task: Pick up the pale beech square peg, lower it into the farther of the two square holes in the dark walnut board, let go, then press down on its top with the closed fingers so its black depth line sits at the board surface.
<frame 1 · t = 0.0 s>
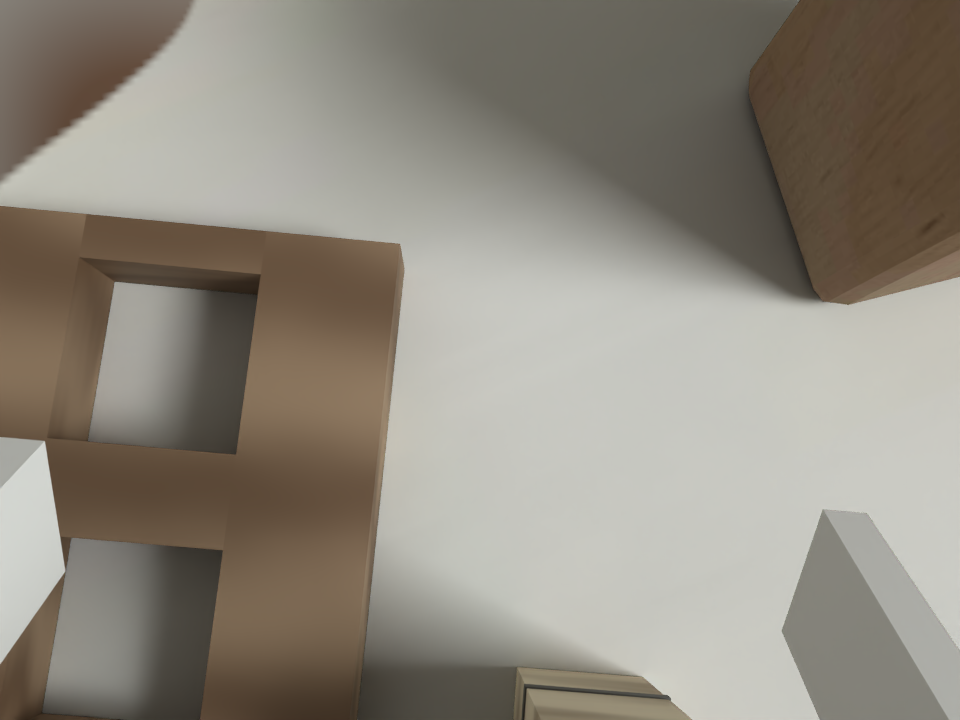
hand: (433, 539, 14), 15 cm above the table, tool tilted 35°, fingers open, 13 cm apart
wooden block: (887, 168, 33), on the table
walnut board: (165, 494, 29), on the table
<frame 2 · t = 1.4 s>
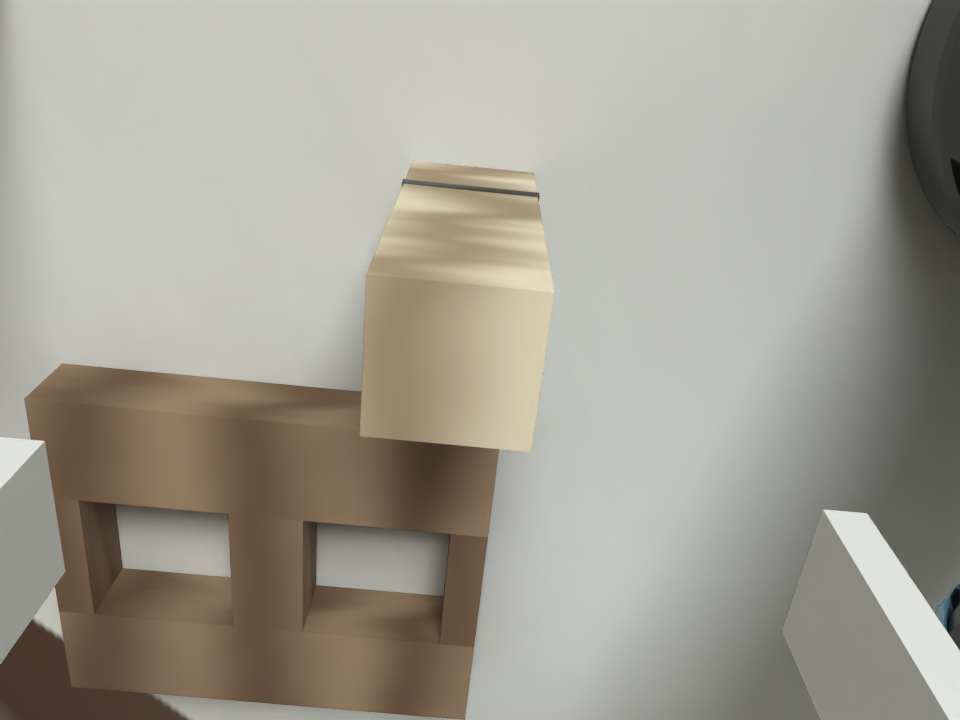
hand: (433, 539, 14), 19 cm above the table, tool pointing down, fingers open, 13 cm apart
beech peg: (467, 225, 31), on the table
walnut board: (283, 530, 37), on the table
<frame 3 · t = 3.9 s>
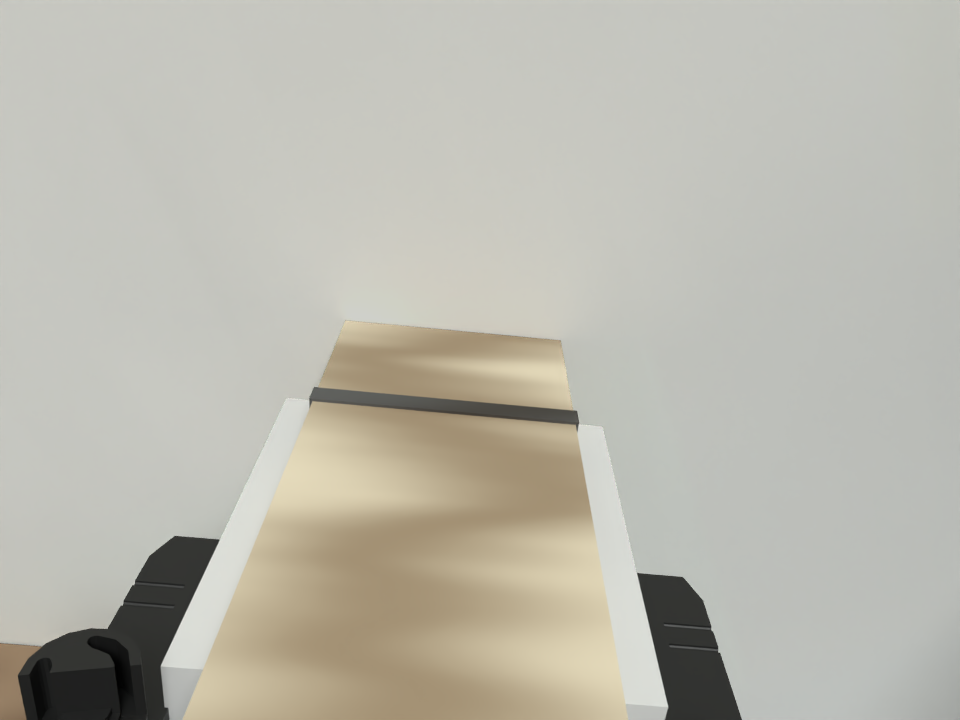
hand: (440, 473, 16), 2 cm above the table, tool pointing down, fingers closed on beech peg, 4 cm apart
beech peg: (445, 423, 18), on the table, touching gripper
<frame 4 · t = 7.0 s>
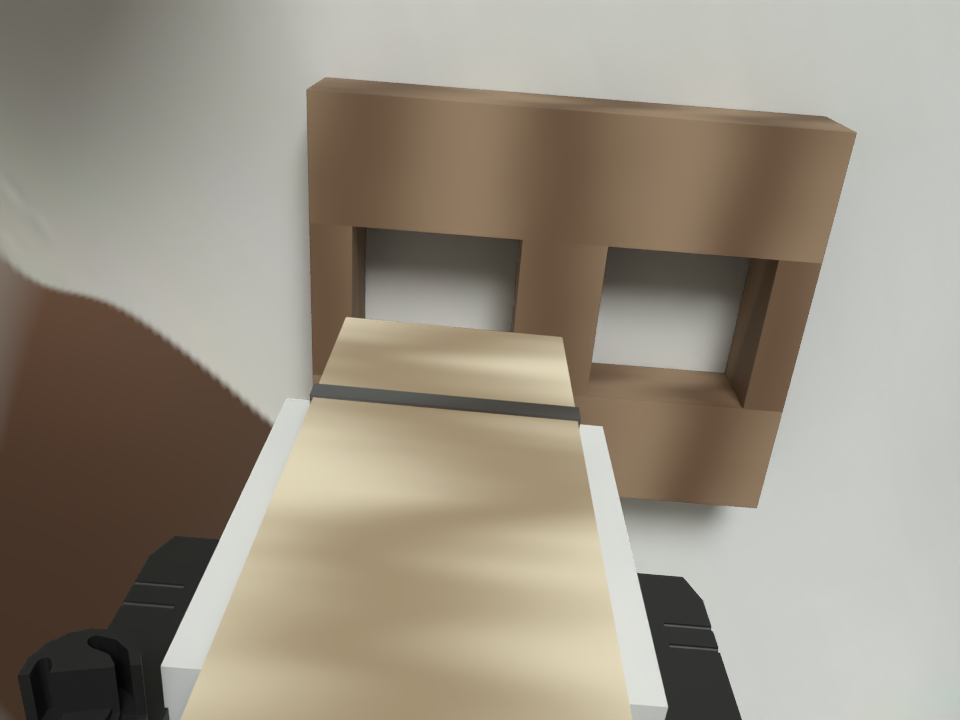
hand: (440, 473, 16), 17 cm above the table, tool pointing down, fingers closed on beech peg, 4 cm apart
beech peg: (446, 420, 18), point 16 cm above the table, touching gripper
walnut board: (552, 291, 33), on the table
when the fingers open (4 cm above the table, at t = 10.3 s): beech peg drops 2 cm, resting in walnut board.
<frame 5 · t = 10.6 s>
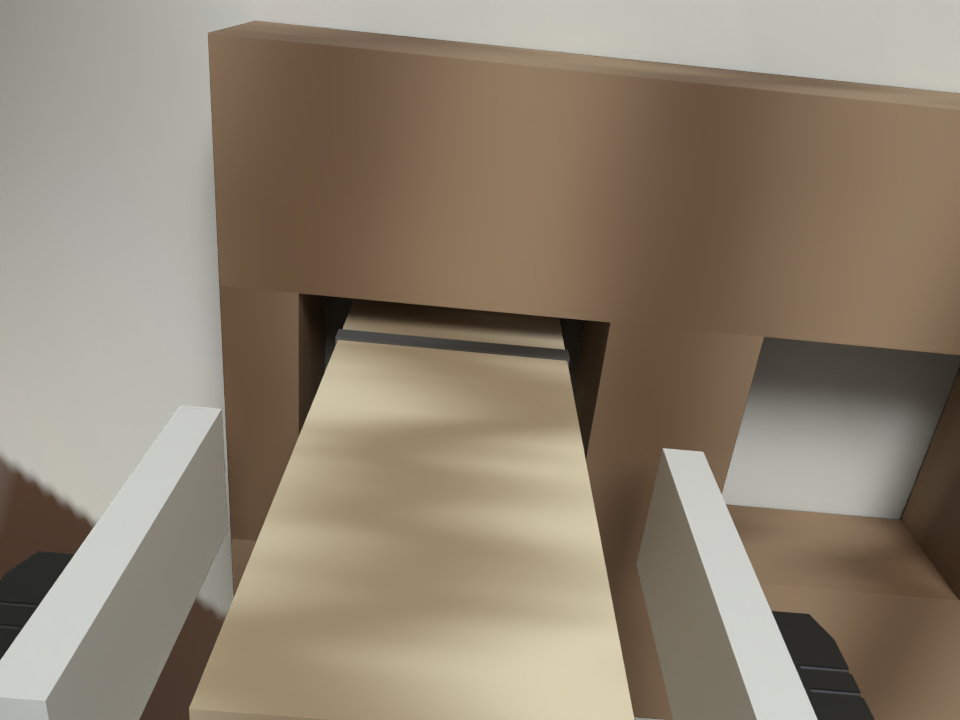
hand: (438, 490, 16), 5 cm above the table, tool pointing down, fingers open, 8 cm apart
beech peg: (451, 372, 20), resting in walnut board
walnut board: (635, 392, 20), on the table
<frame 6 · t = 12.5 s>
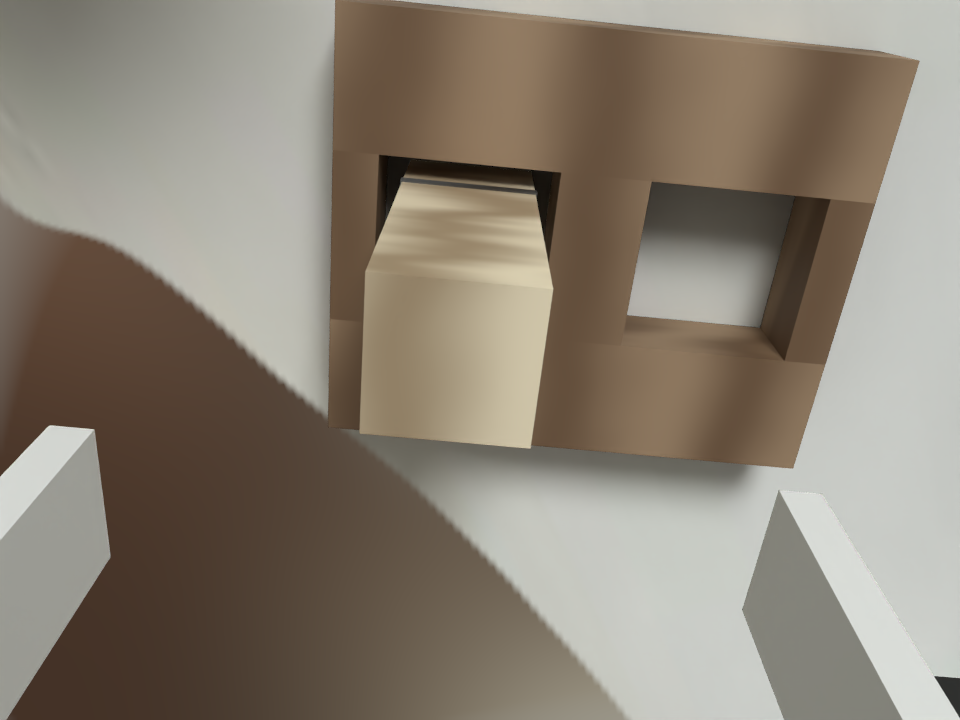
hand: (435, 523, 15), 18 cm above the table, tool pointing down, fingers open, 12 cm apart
beech peg: (465, 223, 31), resting in walnut board
walnut board: (583, 237, 31), on the table
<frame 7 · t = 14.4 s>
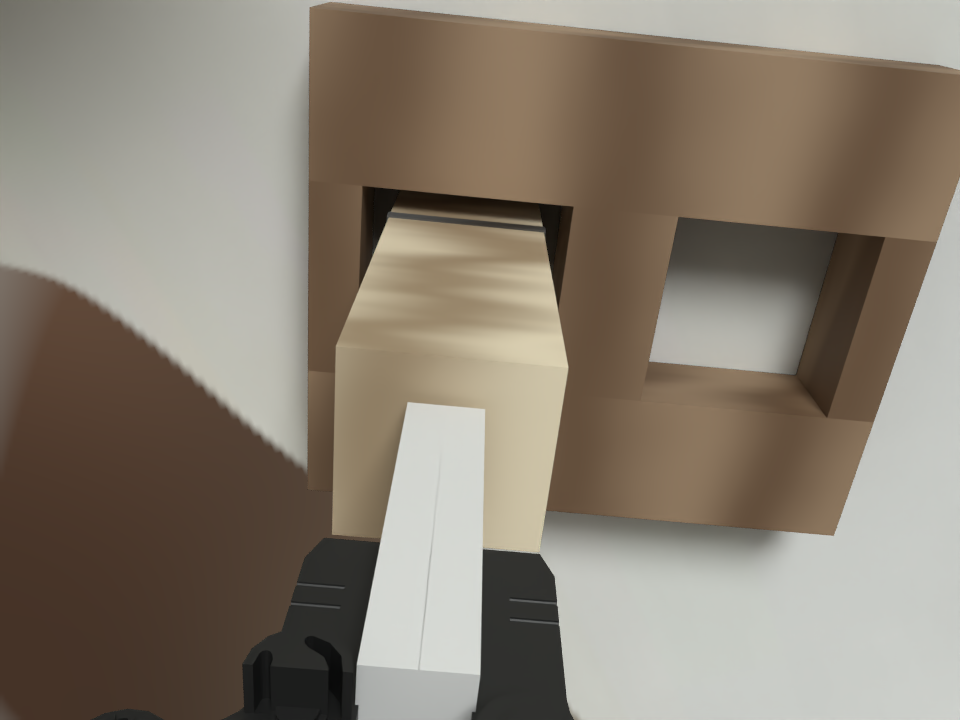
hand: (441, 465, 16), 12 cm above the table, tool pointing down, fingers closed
beech peg: (463, 259, 27), resting in walnut board, touching gripper
walnut board: (597, 274, 27), on the table
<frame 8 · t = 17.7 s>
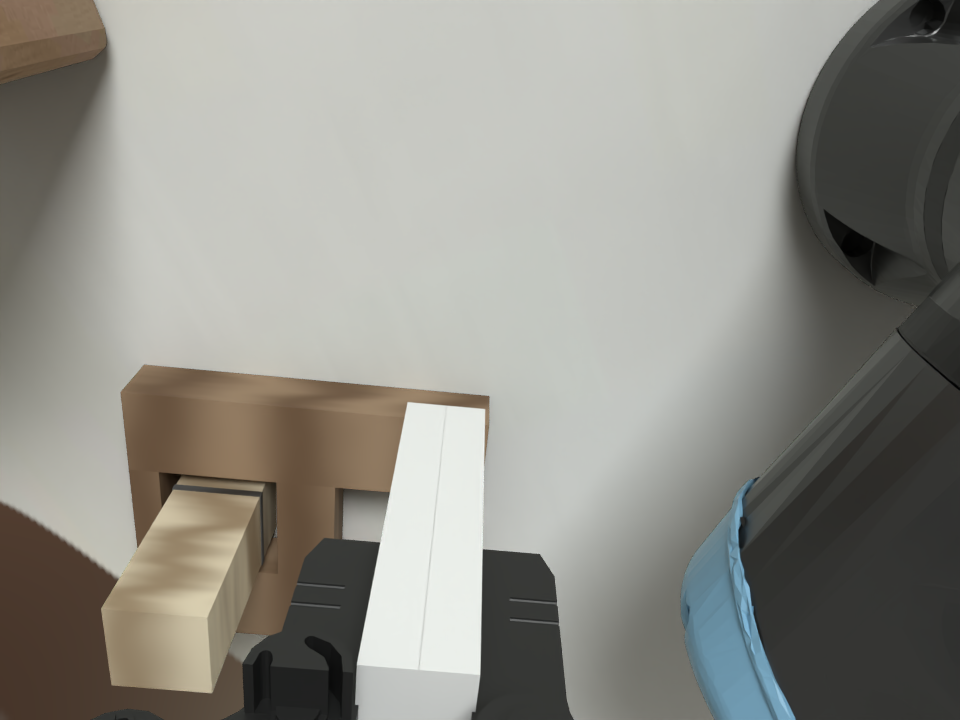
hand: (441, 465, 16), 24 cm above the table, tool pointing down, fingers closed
beech peg: (236, 490, 46), resting in walnut board
walnut board: (316, 498, 46), on the table
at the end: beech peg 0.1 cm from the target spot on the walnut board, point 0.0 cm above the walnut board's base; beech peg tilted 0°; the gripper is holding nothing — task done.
